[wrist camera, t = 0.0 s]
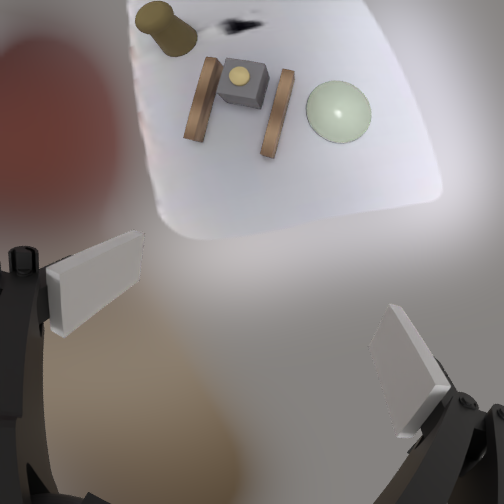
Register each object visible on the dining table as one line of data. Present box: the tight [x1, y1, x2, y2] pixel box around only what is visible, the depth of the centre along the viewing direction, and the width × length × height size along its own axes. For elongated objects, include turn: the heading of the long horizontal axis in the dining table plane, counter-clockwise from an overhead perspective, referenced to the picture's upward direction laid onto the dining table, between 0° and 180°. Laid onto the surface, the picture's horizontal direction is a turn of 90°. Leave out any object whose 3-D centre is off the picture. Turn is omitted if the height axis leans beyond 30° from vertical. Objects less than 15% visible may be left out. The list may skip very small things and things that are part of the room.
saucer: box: [306, 81, 371, 143], centre depth 36 cm, size 9×9×1 cm
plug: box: [216, 58, 269, 109], centre depth 34 cm, size 5×5×7 cm
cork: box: [135, 1, 197, 57], centre depth 31 cm, size 6×6×11 cm
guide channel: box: [183, 57, 295, 158], centre depth 36 cm, size 12×12×4 cm
